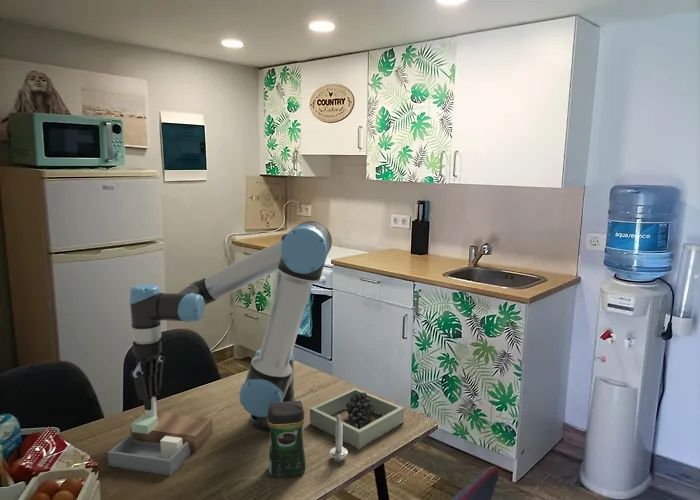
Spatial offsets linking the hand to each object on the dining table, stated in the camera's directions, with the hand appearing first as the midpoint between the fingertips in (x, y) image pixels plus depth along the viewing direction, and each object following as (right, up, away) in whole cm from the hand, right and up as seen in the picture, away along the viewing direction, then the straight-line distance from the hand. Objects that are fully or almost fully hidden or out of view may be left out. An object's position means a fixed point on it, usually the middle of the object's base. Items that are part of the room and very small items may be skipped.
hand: (151, 418), depth 147 cm
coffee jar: (+40, -9, -13) cm, 44 cm away
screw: (+54, -9, -8) cm, 55 cm away
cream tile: (+9, -5, -8) cm, 13 cm away
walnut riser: (+6, -6, +1) cm, 9 cm away
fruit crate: (+59, -5, +11) cm, 60 cm away
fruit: (+59, -5, +11) cm, 60 cm away
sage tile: (-1, -2, -3) cm, 3 cm away
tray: (+3, -8, -10) cm, 13 cm away
